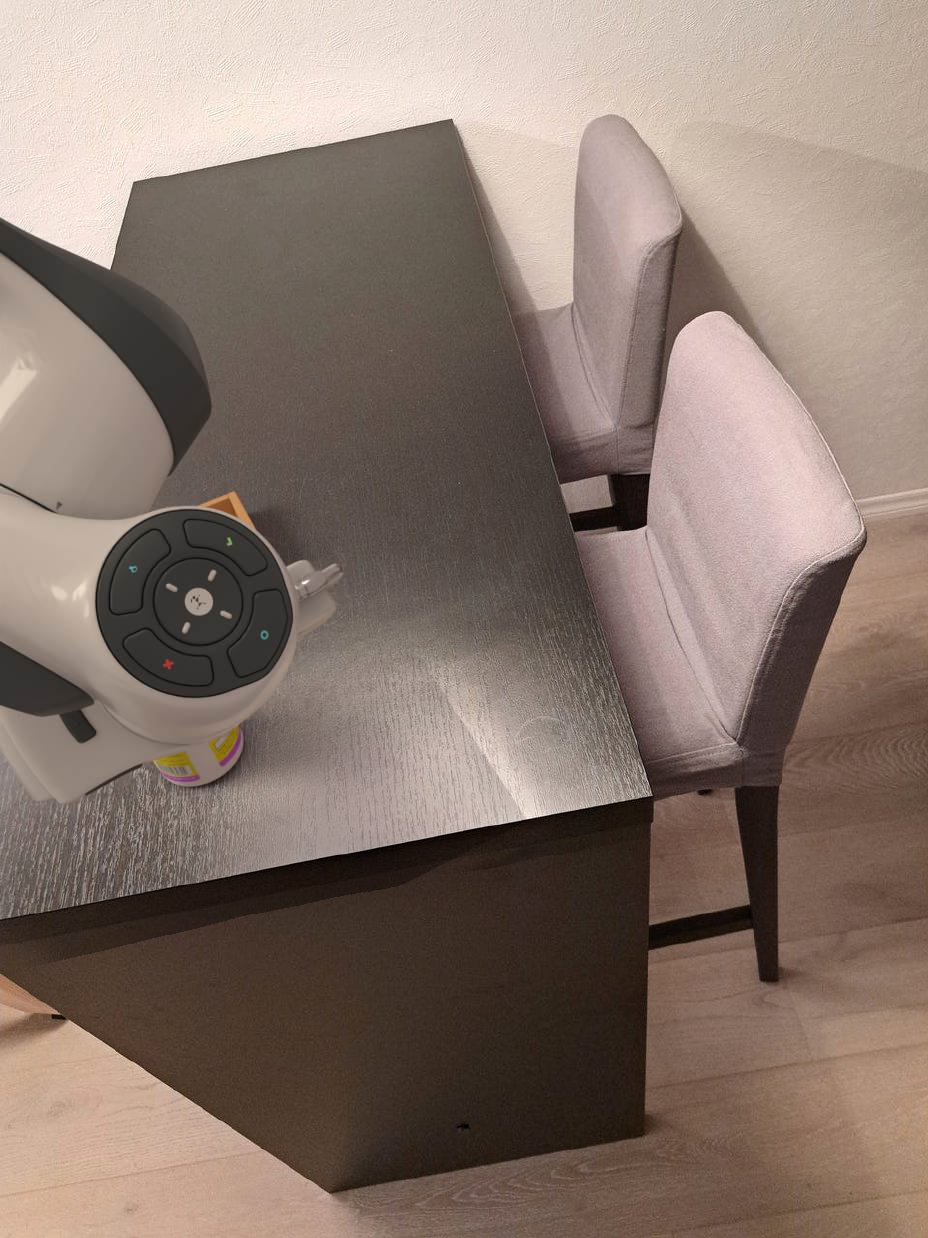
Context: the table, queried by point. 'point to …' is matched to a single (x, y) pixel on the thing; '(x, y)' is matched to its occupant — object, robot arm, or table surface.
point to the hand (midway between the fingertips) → (174, 688)
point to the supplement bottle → (203, 760)
